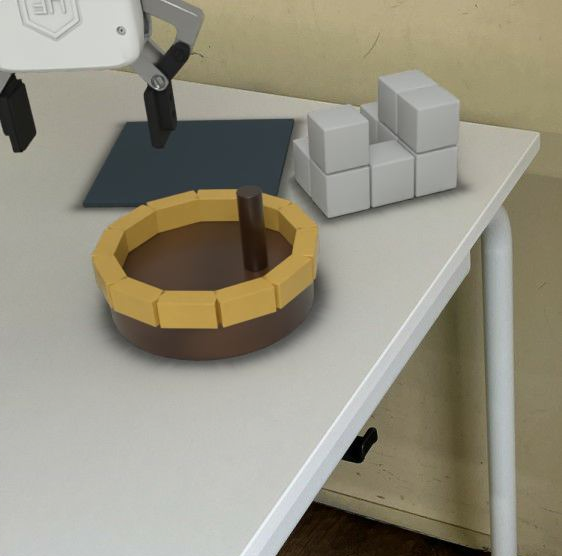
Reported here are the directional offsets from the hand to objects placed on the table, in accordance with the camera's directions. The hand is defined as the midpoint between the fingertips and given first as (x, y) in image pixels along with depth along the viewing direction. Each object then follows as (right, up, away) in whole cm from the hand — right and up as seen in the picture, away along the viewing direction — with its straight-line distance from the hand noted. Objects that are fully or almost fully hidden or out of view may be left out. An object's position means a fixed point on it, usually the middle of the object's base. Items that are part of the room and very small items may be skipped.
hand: (93, 142), depth 69 cm
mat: (+5, +4, +26) cm, 26 cm away
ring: (+7, -8, +5) cm, 12 cm away
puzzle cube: (+20, +2, +21) cm, 29 cm away
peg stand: (+8, -10, +7) cm, 15 cm away
